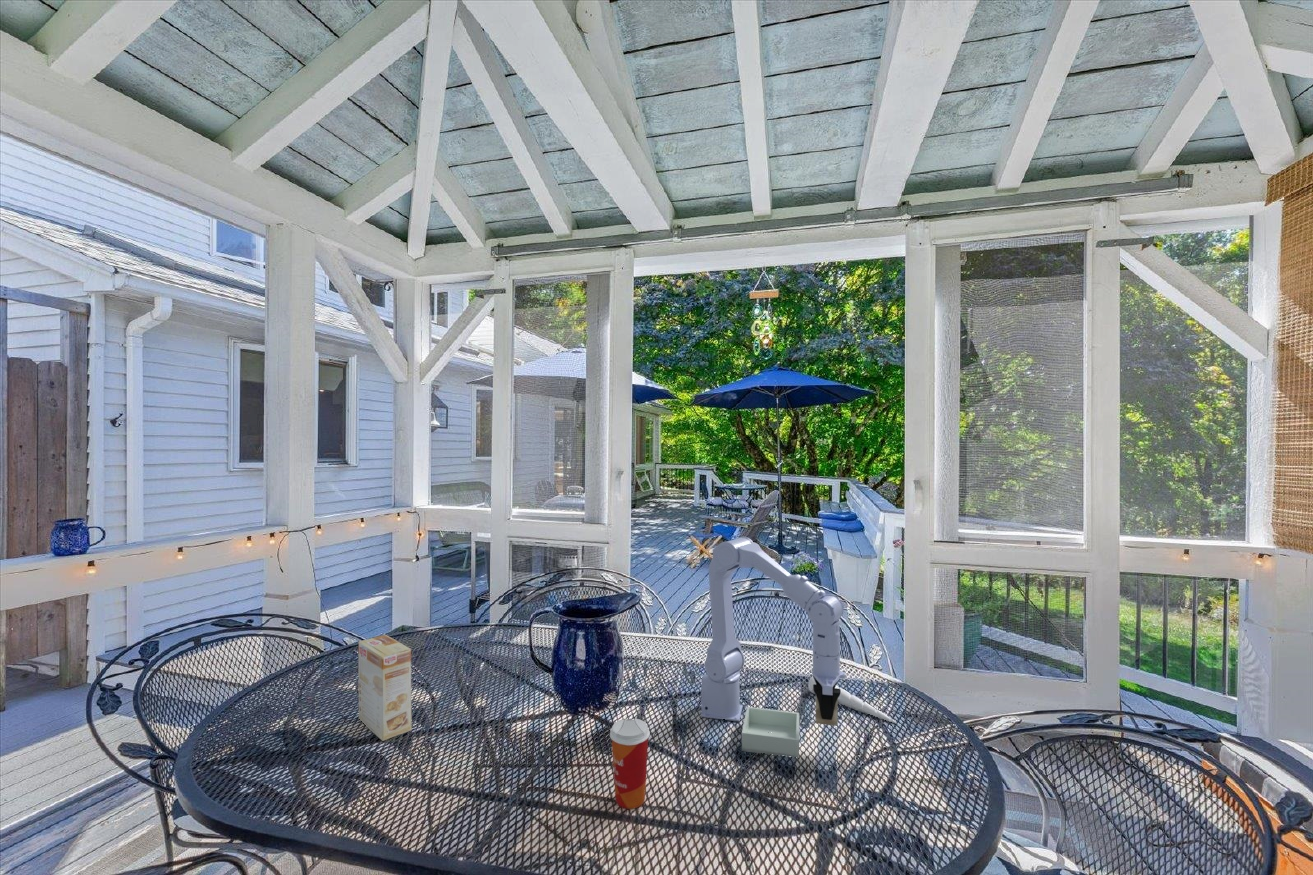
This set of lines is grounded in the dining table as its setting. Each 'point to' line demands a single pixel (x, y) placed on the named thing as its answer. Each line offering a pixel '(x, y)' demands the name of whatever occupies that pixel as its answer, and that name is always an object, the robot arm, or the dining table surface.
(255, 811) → the dining table surface
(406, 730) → the coffeecake box
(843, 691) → the unicorn horn
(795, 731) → the bin
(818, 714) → the birch block
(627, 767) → the paper cup
